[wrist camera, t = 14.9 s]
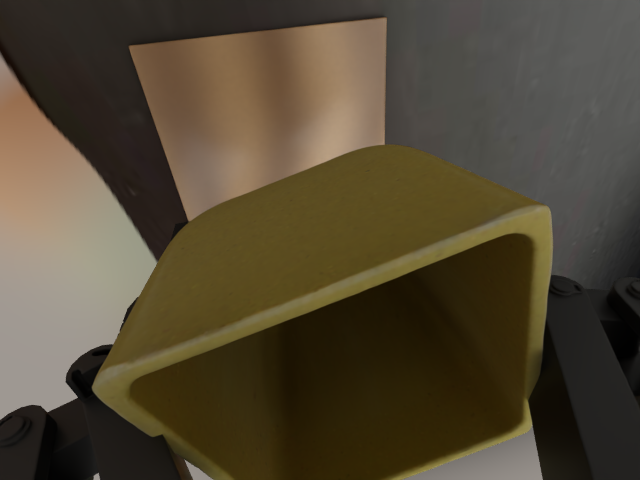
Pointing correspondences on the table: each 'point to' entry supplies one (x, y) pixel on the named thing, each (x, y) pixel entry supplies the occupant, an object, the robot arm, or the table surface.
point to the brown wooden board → (263, 103)
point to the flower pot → (341, 323)
